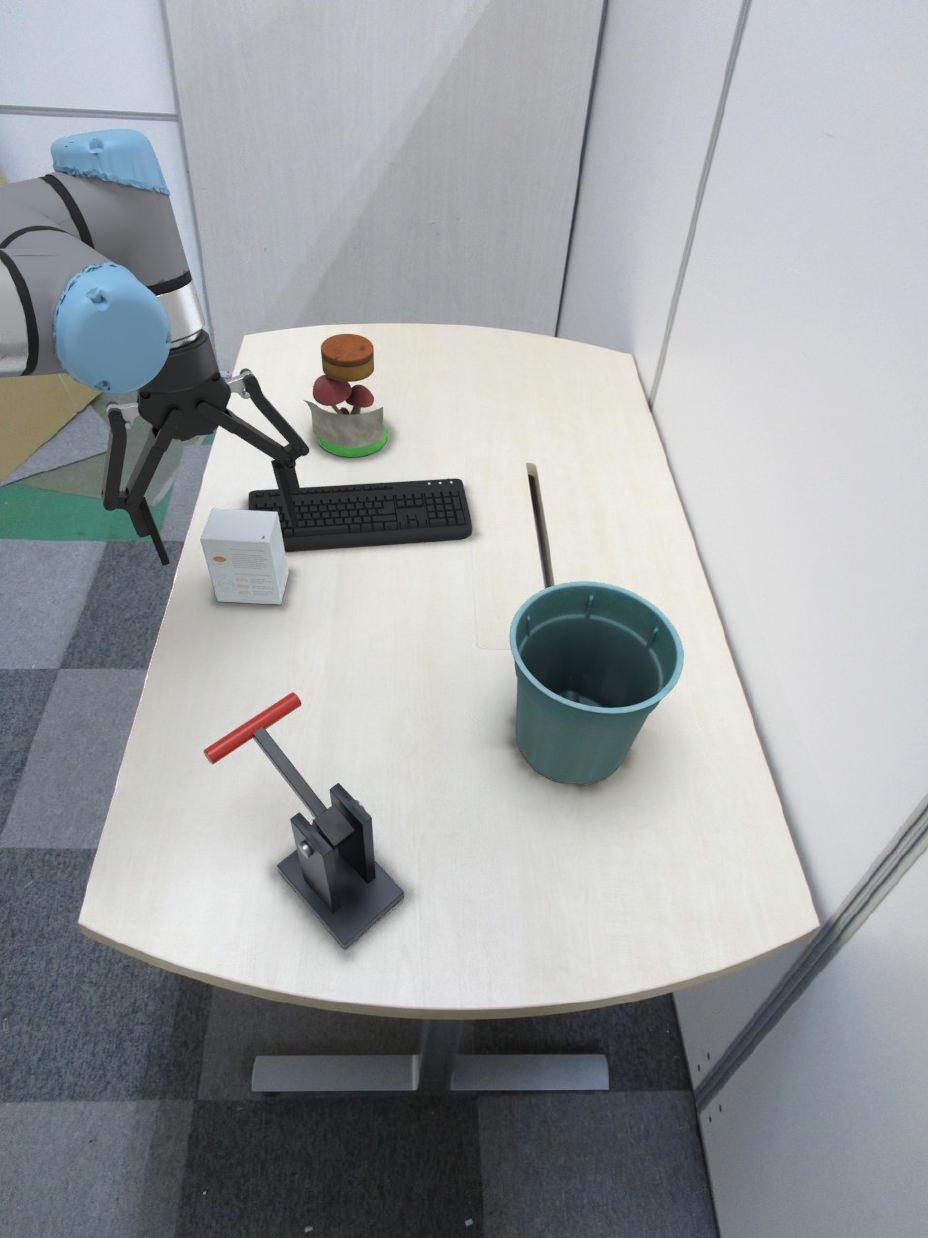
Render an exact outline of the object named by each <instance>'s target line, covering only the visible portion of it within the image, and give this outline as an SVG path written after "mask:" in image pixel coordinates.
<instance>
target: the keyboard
mask: <svg viewBox="0 0 928 1238" xmlns="http://www.w3.org/2000/svg"><path fill="white" fill-rule="evenodd" d="M291 496H292V500H293V504H294V508H295V511H296V515H297V519H298V523H299V524H297V525H294V526H292V525H291V524H290V522H289V520H288V519H287V517H286V515H285V512H284V509H283V505H282V501H281V497H280V493H279V490H278V488H270V489H255V490H251V491H249V492H248V506H247V507H248V509H247V510H251V511H271V512H278V516H279V521H280V527H281V533H282V538H283V544H284V549H285V553H289V552H291V553H293V552H303V551H304V552H305V551H317V550H318V551H319V550H332V549H333V550H334V549H347V548H361V547H376V546H388V545H390V546H391V545H400V544H401V545H403V544H418V543H432V542H445V541H458V540H463V539H464V540H465V539H467V538H469V537H470V536H472V532H473V523H472V522H473V521H472V518H471V517H472V516H471V513H470V508H469V504H468V499H467V496H466V490H465V486H464V482H463V480H462V479H460V478H440V479H438V478H437V479H424V480H421V479H420V480H406V481H389V482H374V483H372V482H371V483H355V484H338V485H321V486H306V487H299V491H297V492H293V493H291Z"/></svg>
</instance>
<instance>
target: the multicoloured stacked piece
mask: <svg viewBox="0 0 928 1238" xmlns="http://www.w3.org/2000/svg"><path fill="white" fill-rule="evenodd" d="M320 356H321V357H320V358H321V367H322V372H323V374H322V375H320V376H318V377H317V378H316V379H315V381H314V383H313V385H312V397H313V400H314V401H315V402H316V403H317V404H319V405H322V406H326V407H330V408H332V410H333V411H334V412H332V411H328V410H326V409H323V408H321V407H319V405H317V404H316V403H314V402H312V401H309V400H306V399H302V402H303V401H304V402H305V403H306V404H307V405H308V407H309V411H310V413H311V422H312V432H313V433H314V435H316V437H317V441H318V444H319V445H320V446H321V447H322V448H323V449H324V450H325V451H326V452H328V453H330V454H333V455H336V456H339V457H346V458H359V457H366V456H368V455H372V454H374V453H376V452H377V451H379V450H381V449H382V448H383V447H384V446H385V445H386V443H387V441H388V430H387V427H386V426H385V424H384V406H381V407H379V408H377V409H375V410H371V411H368V412H363V413H361V409H366V408H369V407H372V405H374V403H375V396H374V395H373V393H372V391H370V389H369V388H368V387H366V386H365V385H363V384H355V385H351V384H350V383H355V382H360V381H363V380H365V379H368V378H369V377H370V376H372V375H373V374H374V371H375V350H374V345H373V342H372V341H371V340H370V339H368V338H367V337H365V336H363V335H359V334H356V333H340V334H334V335H332V336H330V337H327V338H326V339H325V340H323V342H321V345H320ZM344 402H345V403H346V404H347V405H349V406H352V409H351V411H349V409H348V408H347V407H344V406H342V407H340V409H339V407H338V406H337V405H339V404H342V403H344Z"/></svg>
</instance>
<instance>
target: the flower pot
mask: <svg viewBox="0 0 928 1238" xmlns="http://www.w3.org/2000/svg"><path fill="white" fill-rule="evenodd" d="M509 627H510V628H509V635H508V636H509V647H510V651H511V654H512V658H513V660H514V661H513V662H514V671H515V676H516V709H515V711H516V712H515V713H516V714H515V739H516V743H517V746H518V749H519V751H520V753H521V755H522V757H523V758H524V759H525V760H526V762H527V763H528V764H529V765H530V766H531V767H532V768H533V769H534V770H535V771H536V772H538V773H539V774H541V775H543V776H544V777H546V778H547V779H550V780H552V781H555V782H558V783H560V784H564V783H572V784H579V785H581V786H584V785H591V784H594V783H595V784H596V783H598V782H600V781H603V780H604V779H607V778H609V776H611V775H612V774H613V773H616V771H617V770H618V769H619V768H620V766H621V765H622V763H623V762H624V760H625V758H626V756H627V754H628V752H630V749H631V747H632V745H633V744H634V742H635V740H636V739H637V736H638V735H639V733H640V731H641V729H642V728H643V726H644V725H645V722H646V721H647V719H648V717H649V715H650V714H651V713H652V712H654V710H655V709H656V708H657V707H658V706H659V704H660V702H661V701H662V700H663V699H664V698H665V697H666V696H667V695H668V694H670V692H671V691H672V690H673V689H674V688H675V686H676V685H677V684H678V682H679V679H680V678H681V675H682V672H683V668H684V663H685V662H684V661H685V652H684V647H683V642H682V638H681V637H680V634H679V632H678V630H677V629H676V627H675V626H674V625H673V623H672V622H671V620H670V618H668V617H667V615H666V614H665V613H664V612H663V611H661V609H659V608H658V607H657V606H656V605H655V604H653V603H652V602H651V601H649V600H648V599H646V598H644V597H643V596H641V595H639V594H638V593H636V592H634V591H632V590H629V589H627V588H625V587H621V586H618V585H613V584H611V583H605V582H600V581H590V580H589V581H588V580H578V581H569V582H563V583H559V584H555V585H551V586H548V587H545V588H544V589H541V590H539V591H538V592H536V593H534V594H533V595H531V596H530V597H529V598H527V599H526V601H524V603H523V604H521V605H520V607H518V609H517V611H516V612H515V614H514V617H513V618H512V621H511V624H510V626H509Z"/></svg>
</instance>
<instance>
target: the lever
mask: <svg viewBox="0 0 928 1238" xmlns="http://www.w3.org/2000/svg"><path fill="white" fill-rule="evenodd" d="M300 707H302V700H301V699H300V697H299V696H298V695H297V694H296V693H295V692H294V691H291V692H290V693H289V694H287V695H286V696H284V697H282V698H281V699H279V700H278V701H276V702H274V703H273V704H271V705H270V706H269V707H267V708H265V709H264V710H263V711H261V712H259V713H258V714H256V715H254V716H253V717H252V718H250V719H249V720H247V721H245V722H244V723H243V724H241V725H240V726H238V727H237V728H235V729H234V730H232V731H231V732H229V733H227V734H226V735H224V736H223V737H221V738H220V739H218V740H216V741H215V742H214V743H212V744H211V745H209V746H208V747H206V748H205V749H203V750H202V752H203V755H204V757H205V758H206V759H207V761H208V762H209V764H211V765H214V764H216V763H218V762H219V761H221V760H223V759H224V758H225V757H227V756H229V755H230V754H231V753H233V752H234V751H236V750H237V749H239V748H240V747H242V746H243V745H244V744H246V743H248V742H249V741H251V740H252V739H253V741H254V742H255V743H256V745H257V746H258V747H259V748H260V749H261V751H262V752H263V754H264V755H265V756H266V758H267V759H268V760H269V761H270V763H271V764H272V765H273V767H275V769H276V771H277V772H278V773H279V774H280V776H281V777H282V779H284V781H285V782H286V784H287V785H288V786H289V787H290V788H291V790H292V791H293V792H294V794H295V796H297V798H298V799H299V800H300V801H301V803H302V804H303V805H304V807H305V808H306V809H307V810H308V812H309V814H310V815H311V816H312V817H313V820H312V822H311V823H310V824H311V825H312V826H313V827H314V828H315V830H316V831H317V832H318V833H319V834H320V835H321V836H322V837H323V838H324V839H325V841H326V842H327V843H328V844H329V845H330V846H331V847H332V849H333V851H334V850H335V849H336V848H338V847H339V846H340V845H341V844H343V843H344V842H345V841H346V840H348V839H349V838H350V837H351V836H352V834H353V833H354V831H355V829H354V828H353V827H352V825H351V824H350V823H349V822H348V820H347V819H346V818H345V816H344V815H343V814H342V813H341V811H340V810H339V809H338V808H337V806H336V805H335V804H333V805H330V806H329V807H327V806H325V804H324V803H323V801H322V800H321V798H319V796H318V795H317V794H316V792H315V790H313V789H312V787H311V786H310V784H309V783H308V782H307V781H306V779H305V778H304V777H303V776H302V774H301V773H300V772H299V770H298V769H297V767H296V766H295V765H294V764H293V763H292V761H290V759H289V758H288V756H287V755H286V754H285V752H284V751H283V750H282V749H281V747H280V746H279V745H278V743H277V742H276V741H275V739H274V738H273V737H272V736H271V735H270V733H269V732H268V731H267V729H269V728H270V727H272V726H273V725H275V724H276V723H277V722H279V721H281V720H282V719H283V718H285V717H286V716H288V715H289V714H291V713H293V712H294V711H296V710H297V709H299V708H300Z"/></svg>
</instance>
